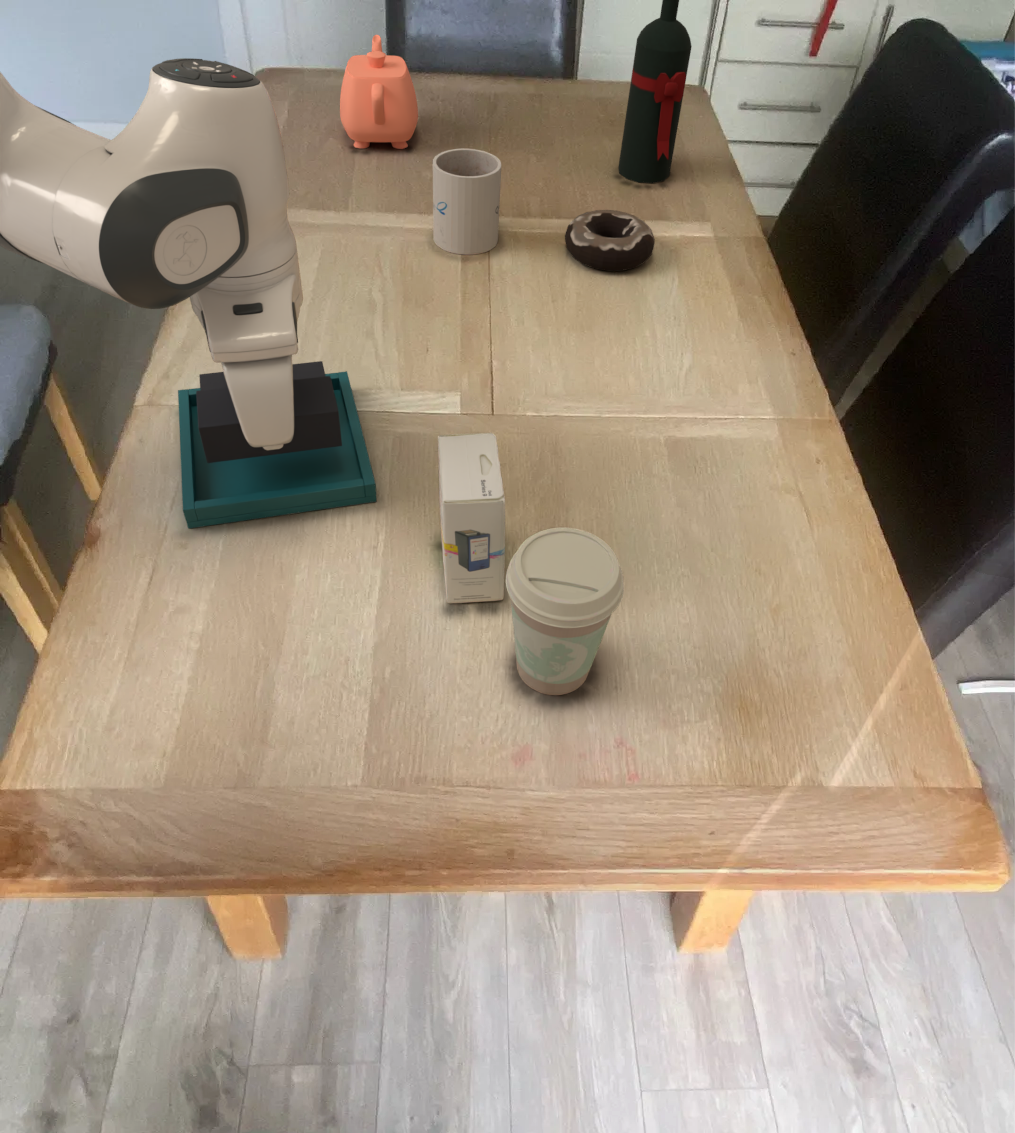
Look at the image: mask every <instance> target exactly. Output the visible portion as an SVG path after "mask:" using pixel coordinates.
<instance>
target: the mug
mask: <svg viewBox="0 0 1015 1133" xmlns="http://www.w3.org/2000/svg"><path fill="white" fill-rule="evenodd" d="M501 182H502V161H501V160H500V158H498V156H496V155H494V154H492V153H490V152H489V151H484V150H480V149H476V148H454V149H447V150H444V151H441V152H439V153H438V154H436V155H435V156H434V157H433V159H432V217H433V218H432V222H433V223H432V235H433V237H432V238H433V239H432V240H433V242H434V244H435V245H436V246H437V247H438V248H440V249H441V250H443V251H445V252H448V253H450V254H456V255H463V256H464V255H466V256H467V255H470V256H471V255H472V256H473V255H479V254H484V253H486V252H487V253H488V252H489V251H491V250H493V249H494V248H495V247H496V246H497V245H498V242H499V227H500V206H501V204H500V203H501V184H502V183H501Z"/></svg>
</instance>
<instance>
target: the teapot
mask: <svg viewBox="0 0 1015 1133" xmlns="http://www.w3.org/2000/svg"><path fill="white" fill-rule="evenodd" d="M382 46H383V44H382V37H381V36H380V35H379V34H374V35H373V36H372V38H371V51H369V52H367V53H366V54H355V55H352V56H351V57H350V58H349V59H348V61H347V63H346V67H345V70H344V74H343V77H342V82H341V88H340V97H339V116H340V121H341V124H342V126H343V129H344V130H345V132H346V135H347V136H348V137H349V139H350V140H352V141H354V142H353V147H354V148H356V149H366V148H367V149H368V148H369V147H370V143H391V147H393V148H394V149H400V150H403V149H405V148H408V146H409V145H408V143H407V141H409V140H411V139H412V137H413V135H414V133H415V130H416V127H417V125H418V122H419V107H418V99H417V95H416V90H415V86H414V83H413V80H412V77H411V74H410V71H409V68H408V65H407V63H406V61H405V60H404V59H403V57H402V56H399V55H389V54H388V55H387V54H386V52H384V51H383V47H382Z"/></svg>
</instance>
